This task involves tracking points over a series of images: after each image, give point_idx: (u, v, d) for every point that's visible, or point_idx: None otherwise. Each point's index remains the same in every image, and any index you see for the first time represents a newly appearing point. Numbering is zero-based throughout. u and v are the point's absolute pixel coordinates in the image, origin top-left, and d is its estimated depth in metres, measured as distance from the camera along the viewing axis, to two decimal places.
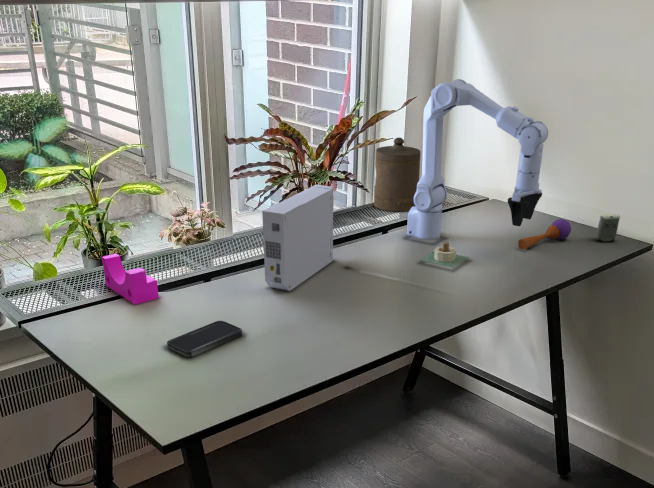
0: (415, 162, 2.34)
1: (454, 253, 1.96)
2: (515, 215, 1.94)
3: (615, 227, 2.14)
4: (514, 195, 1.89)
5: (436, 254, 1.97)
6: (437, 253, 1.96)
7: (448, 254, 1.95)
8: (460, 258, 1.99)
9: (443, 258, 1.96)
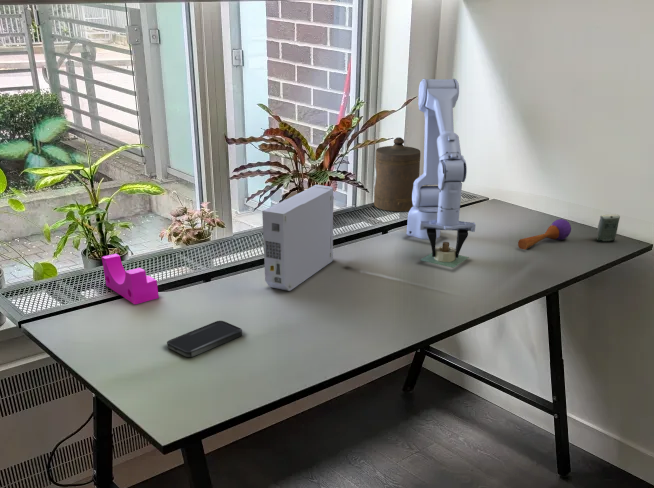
0: (415, 161, 2.35)
1: (454, 253, 1.96)
2: None
3: (615, 227, 2.14)
4: (420, 223, 1.94)
5: (436, 254, 1.97)
6: (437, 253, 1.96)
7: (448, 254, 1.95)
8: (460, 258, 1.99)
9: (443, 258, 1.96)
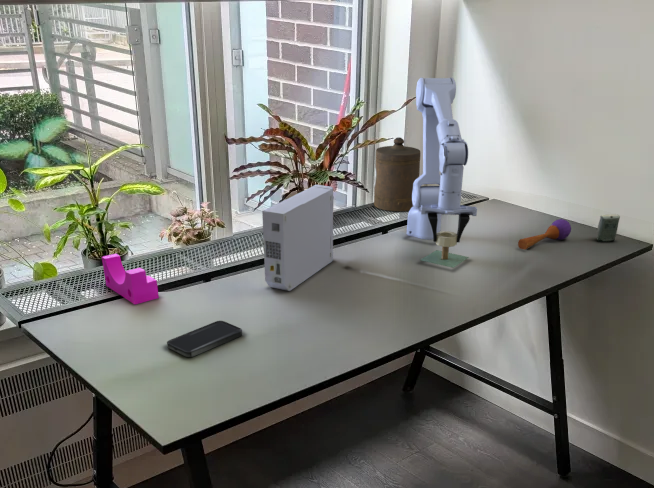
0: (415, 161, 2.35)
1: (456, 238, 1.94)
2: None
3: (615, 227, 2.14)
4: (421, 207, 1.92)
5: (437, 239, 1.95)
6: (438, 238, 1.94)
7: (449, 239, 1.93)
8: (460, 258, 1.99)
9: (444, 243, 1.94)
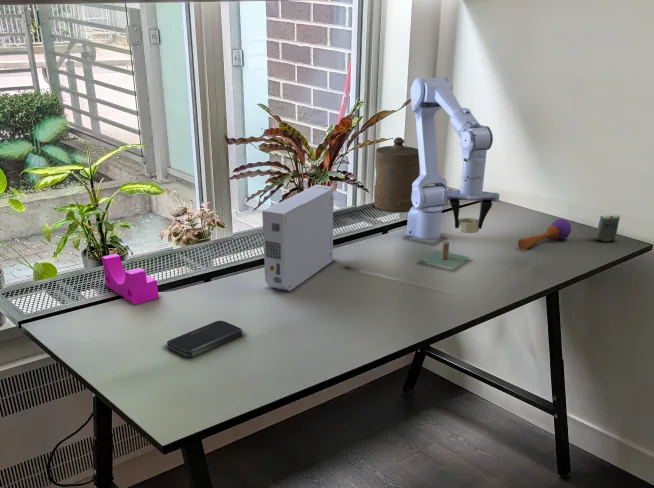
0: (415, 161, 2.35)
1: (477, 224, 1.93)
2: None
3: (615, 227, 2.14)
4: (443, 193, 1.92)
5: (459, 225, 1.94)
6: (460, 224, 1.93)
7: (471, 225, 1.92)
8: (460, 258, 1.99)
9: (466, 229, 1.93)
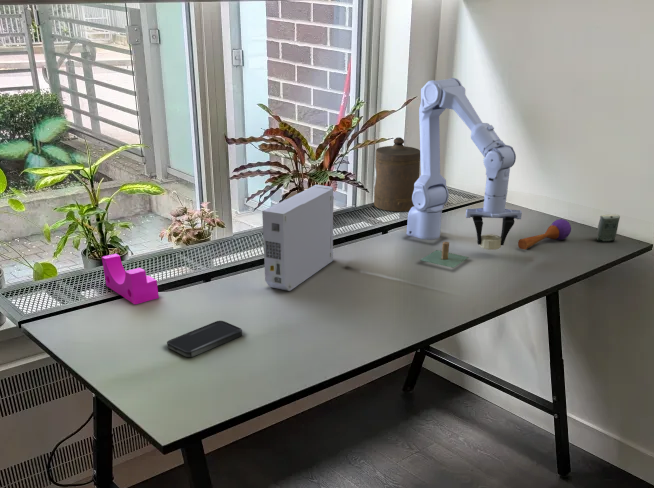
0: (415, 161, 2.35)
1: (500, 241, 1.97)
2: None
3: (615, 227, 2.14)
4: (466, 211, 1.96)
5: (481, 242, 1.98)
6: (483, 241, 1.97)
7: (494, 242, 1.96)
8: (460, 258, 1.99)
9: (489, 246, 1.97)
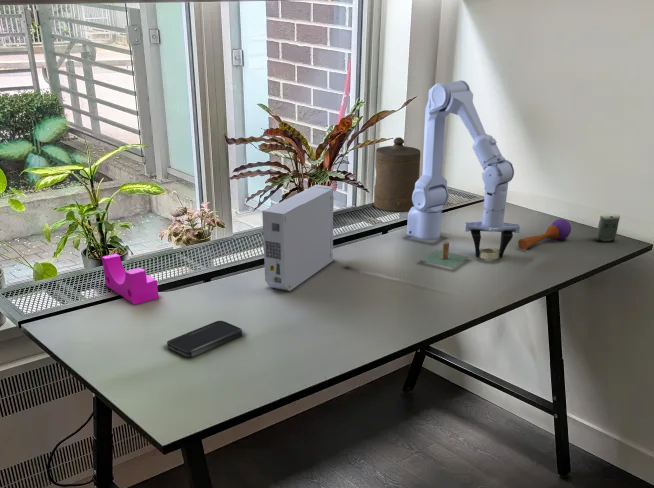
0: (415, 161, 2.35)
1: (498, 254, 1.99)
2: None
3: (615, 227, 2.14)
4: (465, 224, 1.97)
5: (480, 255, 2.00)
6: (481, 254, 1.99)
7: (492, 255, 1.98)
8: (460, 258, 1.99)
9: (487, 259, 1.99)
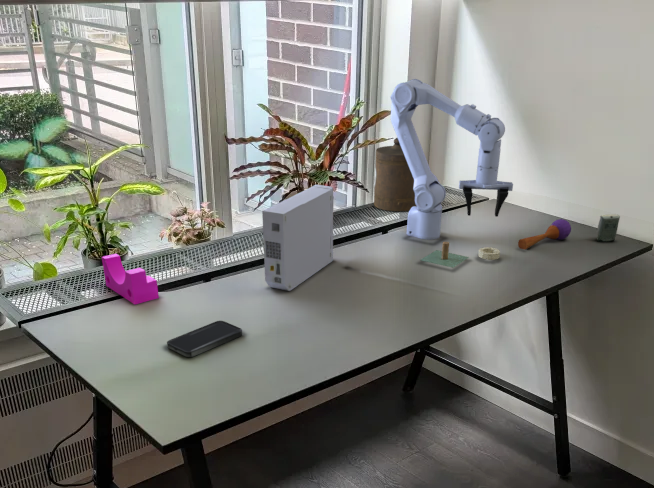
0: None
1: (498, 254, 1.99)
2: None
3: (615, 227, 2.14)
4: (459, 182, 2.02)
5: (480, 255, 2.00)
6: (481, 254, 1.99)
7: (493, 255, 1.98)
8: (460, 258, 1.99)
9: (487, 259, 1.99)
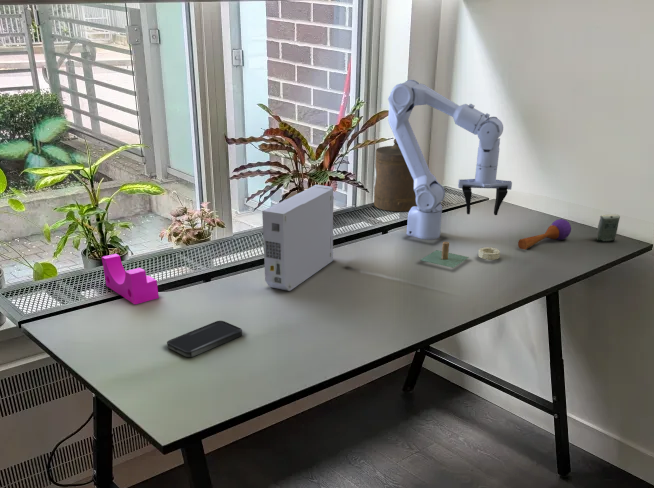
0: None
1: (498, 254, 1.99)
2: None
3: (615, 227, 2.14)
4: None
5: (480, 255, 2.00)
6: (481, 254, 1.99)
7: (493, 255, 1.98)
8: (460, 258, 1.99)
9: (487, 259, 1.99)
